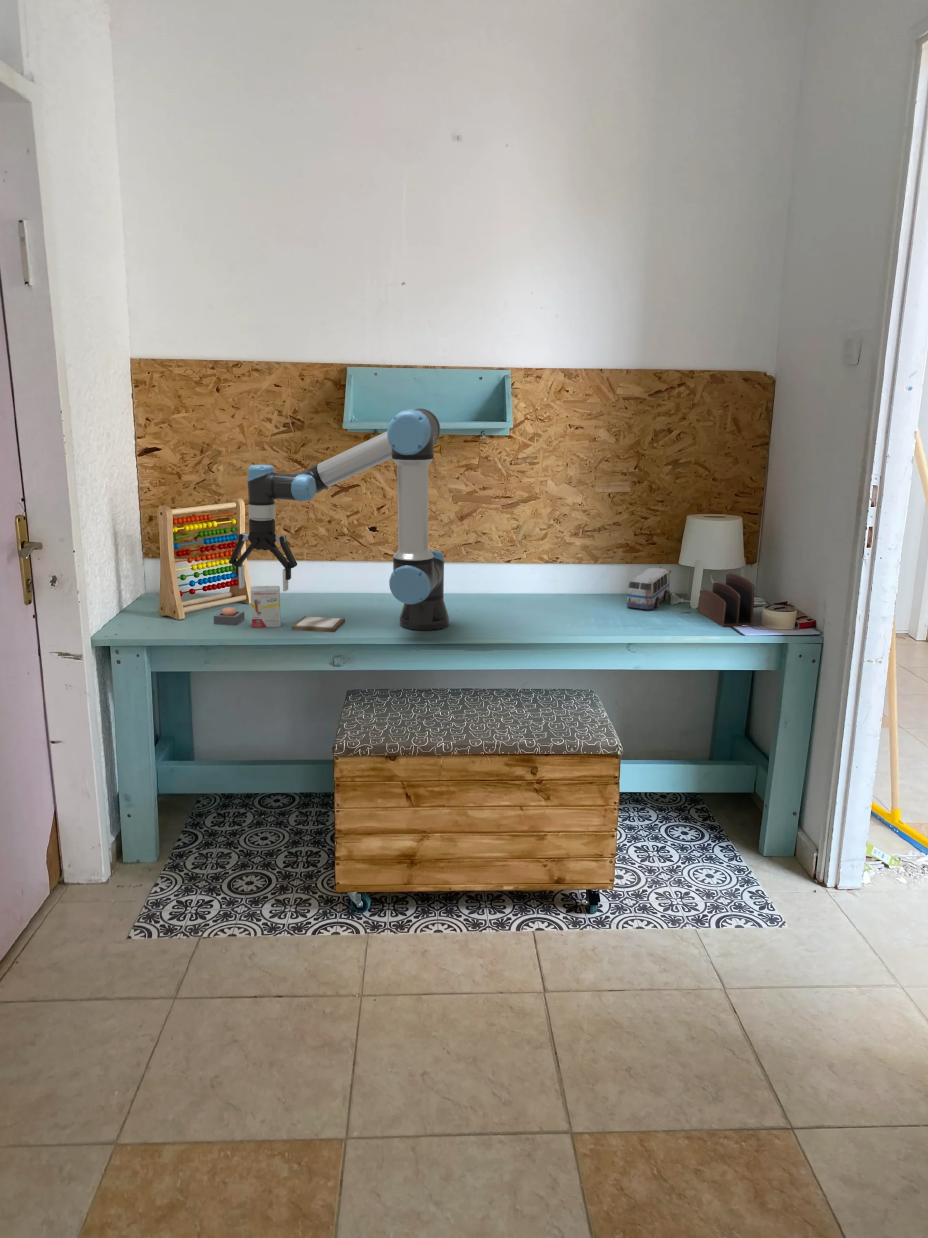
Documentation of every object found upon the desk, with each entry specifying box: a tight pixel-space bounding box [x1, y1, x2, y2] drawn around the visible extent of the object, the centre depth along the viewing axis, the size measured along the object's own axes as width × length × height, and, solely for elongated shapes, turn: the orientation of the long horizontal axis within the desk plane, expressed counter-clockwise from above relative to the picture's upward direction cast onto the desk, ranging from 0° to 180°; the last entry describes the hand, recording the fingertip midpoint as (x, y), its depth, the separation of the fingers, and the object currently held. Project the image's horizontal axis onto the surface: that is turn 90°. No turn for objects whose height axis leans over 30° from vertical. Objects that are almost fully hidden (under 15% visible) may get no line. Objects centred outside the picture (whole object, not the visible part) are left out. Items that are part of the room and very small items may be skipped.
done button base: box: [213, 610, 246, 626], centre depth 279 cm, size 7×7×2 cm
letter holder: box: [697, 572, 756, 628], centre depth 291 cm, size 10×20×14 cm, turn 9°
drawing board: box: [291, 615, 346, 633], centre depth 276 cm, size 13×12×1 cm
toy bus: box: [626, 567, 672, 610], centre depth 311 cm, size 10×27×10 cm, turn 154°
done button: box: [221, 606, 237, 616], centre depth 278 cm, size 4×4×2 cm
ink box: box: [250, 585, 282, 629], centre depth 274 cm, size 9×5×12 cm, turn 101°
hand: (263, 588), depth 273 cm, fingers open, 13 cm apart
